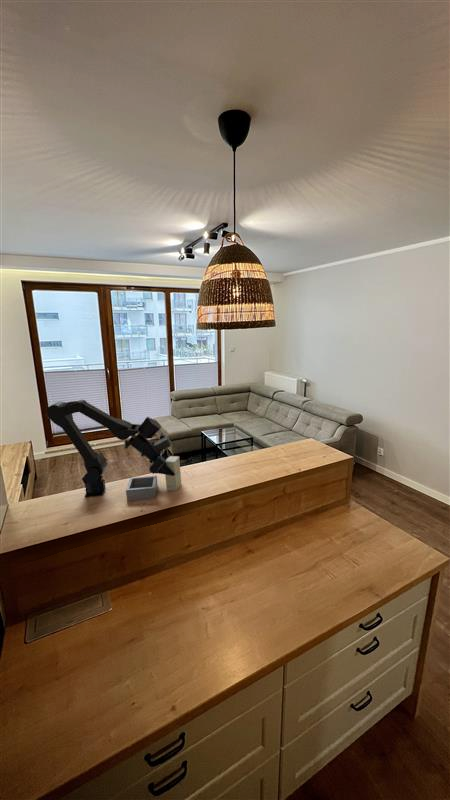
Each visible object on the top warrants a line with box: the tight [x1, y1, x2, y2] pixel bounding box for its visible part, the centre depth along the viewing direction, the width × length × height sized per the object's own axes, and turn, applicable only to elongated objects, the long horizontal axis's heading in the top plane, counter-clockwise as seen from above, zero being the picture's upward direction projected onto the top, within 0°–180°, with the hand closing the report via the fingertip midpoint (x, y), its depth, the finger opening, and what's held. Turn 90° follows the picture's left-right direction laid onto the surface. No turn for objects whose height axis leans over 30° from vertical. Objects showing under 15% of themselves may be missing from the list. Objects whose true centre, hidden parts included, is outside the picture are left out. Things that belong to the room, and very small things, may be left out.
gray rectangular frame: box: [125, 475, 158, 502], centre depth 126 cm, size 10×10×4 cm
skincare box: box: [164, 455, 182, 491], centre depth 129 cm, size 6×4×12 cm
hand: (174, 470), depth 129 cm, fingers open, 9 cm apart
